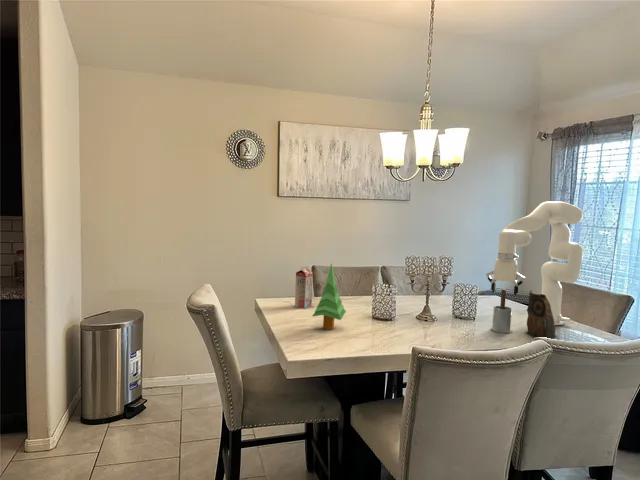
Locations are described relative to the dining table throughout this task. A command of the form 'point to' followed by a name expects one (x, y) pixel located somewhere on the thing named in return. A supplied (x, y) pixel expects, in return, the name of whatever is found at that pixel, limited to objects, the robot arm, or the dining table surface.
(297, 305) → the juice carton
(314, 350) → the dining table surface
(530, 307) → the owl
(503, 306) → the orange and brown rod
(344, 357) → the dining table surface
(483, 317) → the dining table surface
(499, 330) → the grey cup
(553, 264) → the robot arm
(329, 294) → the decorative tree
